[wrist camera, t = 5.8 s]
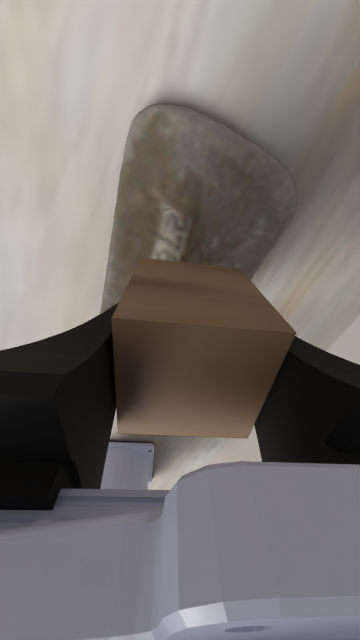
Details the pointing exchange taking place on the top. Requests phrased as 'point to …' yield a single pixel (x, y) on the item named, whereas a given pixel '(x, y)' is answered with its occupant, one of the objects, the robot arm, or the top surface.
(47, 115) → the top surface
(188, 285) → the walnut block
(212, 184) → the stone
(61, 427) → the robot arm
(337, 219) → the top surface
